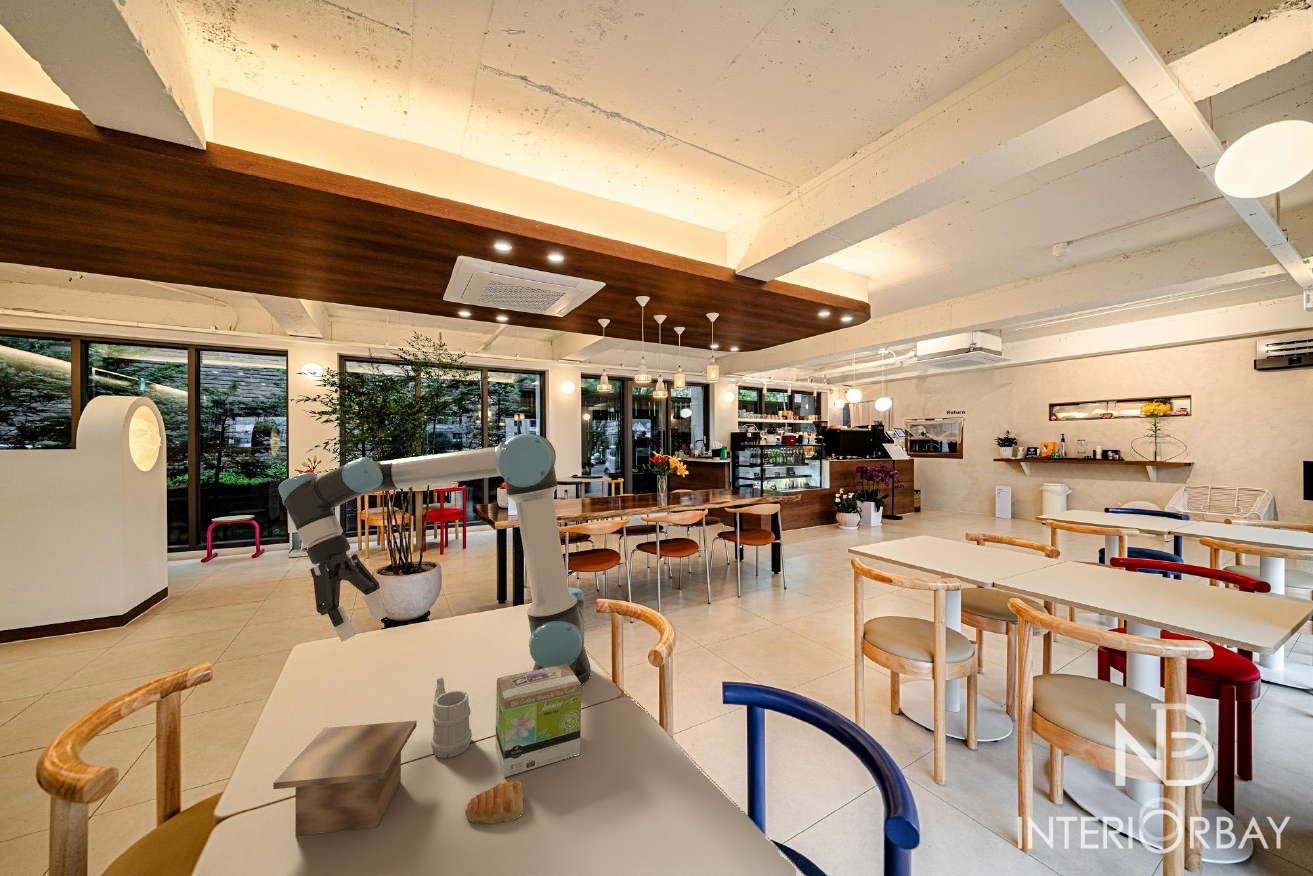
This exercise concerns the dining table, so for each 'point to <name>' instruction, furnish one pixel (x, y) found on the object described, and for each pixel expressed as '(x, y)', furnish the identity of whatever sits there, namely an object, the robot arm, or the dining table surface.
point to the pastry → (497, 804)
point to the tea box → (537, 718)
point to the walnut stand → (346, 776)
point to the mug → (450, 722)
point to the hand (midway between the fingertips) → (366, 628)
